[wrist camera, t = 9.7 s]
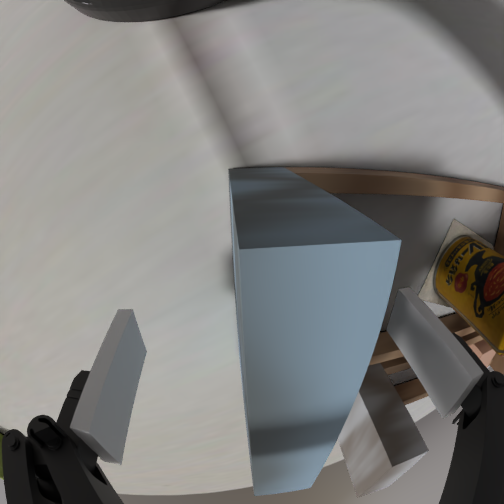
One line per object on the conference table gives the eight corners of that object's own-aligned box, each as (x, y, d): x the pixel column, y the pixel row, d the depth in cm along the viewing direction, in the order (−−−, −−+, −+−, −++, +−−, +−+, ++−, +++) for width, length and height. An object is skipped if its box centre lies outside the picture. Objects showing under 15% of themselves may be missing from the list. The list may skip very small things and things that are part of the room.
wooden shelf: (510, 188, 16) (595, 230, 6) (477, 313, 22) (534, 373, 12) (228, 168, 14) (239, 249, 4) (239, 361, 20) (254, 495, 10)
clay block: (464, 333, 24) (482, 354, 20) (482, 326, 24) (500, 345, 20) (451, 358, 25) (467, 379, 22) (470, 350, 26) (486, 369, 22)
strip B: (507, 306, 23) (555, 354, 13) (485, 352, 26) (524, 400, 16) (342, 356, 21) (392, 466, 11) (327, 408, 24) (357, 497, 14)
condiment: (452, 217, 17) (567, 291, 6) (493, 245, 19) (576, 306, 8) (414, 297, 20) (500, 397, 9) (461, 308, 22) (530, 382, 11)
